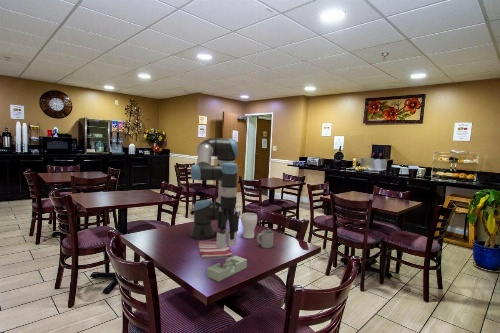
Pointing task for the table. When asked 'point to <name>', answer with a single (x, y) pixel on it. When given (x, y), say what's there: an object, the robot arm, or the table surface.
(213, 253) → the dish towel
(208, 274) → the rail
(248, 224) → the cup
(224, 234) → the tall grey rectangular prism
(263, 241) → the cup
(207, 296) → the table surface
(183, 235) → the table surface
